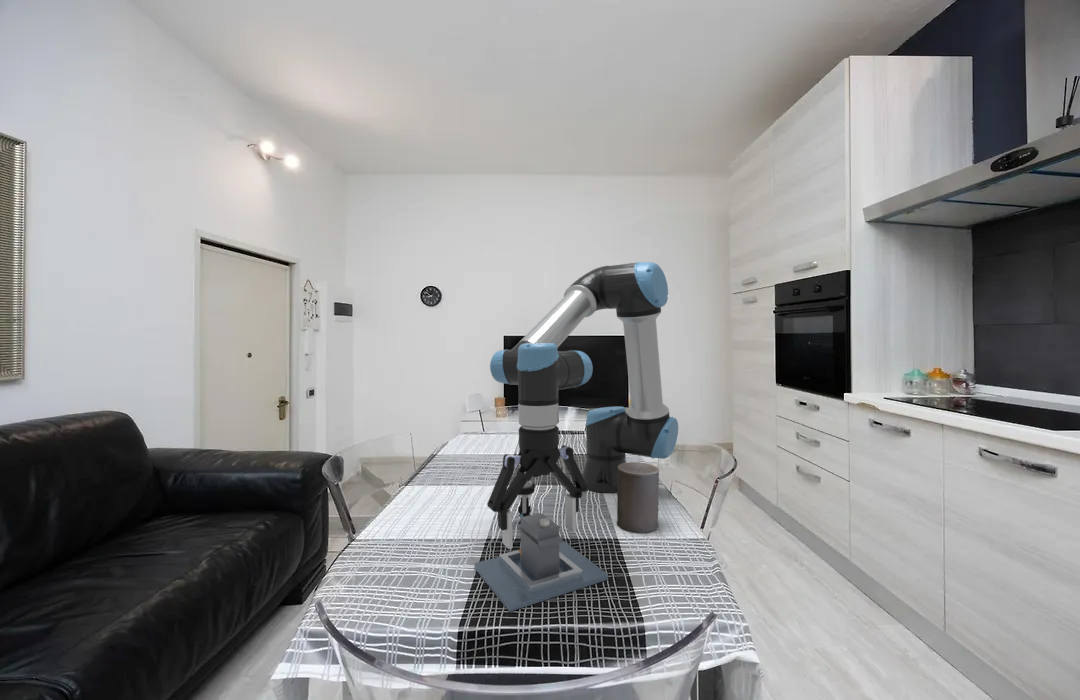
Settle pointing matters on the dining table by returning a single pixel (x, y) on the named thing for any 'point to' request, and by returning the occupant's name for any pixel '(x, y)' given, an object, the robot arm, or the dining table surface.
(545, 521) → the servo
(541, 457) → the robot arm
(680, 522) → the dining table surface
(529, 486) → the push button
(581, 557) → the plate
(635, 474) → the pillar candle
